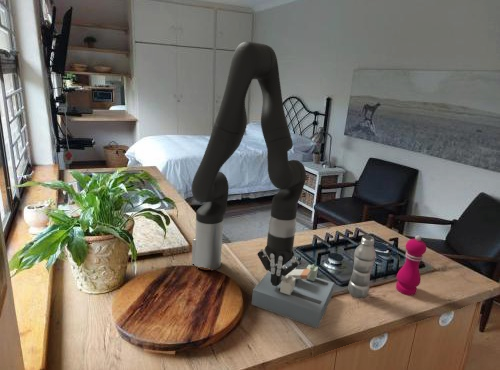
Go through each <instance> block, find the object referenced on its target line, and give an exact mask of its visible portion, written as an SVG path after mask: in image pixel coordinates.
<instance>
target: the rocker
mask: <svg viewBox="0 0 500 370" xmlns="http://www.w3.org/2000/svg"><path fill="white" fill-rule="evenodd" d="M287 275H288V276H289V275H292V277H294V278H296V279H308V278H309V276H310V275H311V269H306V268H303V269H301V268H297V269H296V268H295V269H294V270H292V271H291V272H290V273H289V274H287ZM284 277H285V276H283V275H282V279H283V278H284Z"/></svg>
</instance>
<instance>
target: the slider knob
mask: <svg viewBox="0 0 500 370" xmlns="http://www.w3.org/2000/svg"><path fill="white" fill-rule="evenodd" d="M295 280H296V278H294V277H292V275H289V276H288V275H286V276H285V277H284V278H283V280H282V281H281V288H280V292H282V293H285V294H288V295H290V294H291V293H292V291H293V290H294V287H295Z"/></svg>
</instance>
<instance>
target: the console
mask: <svg viewBox="0 0 500 370" xmlns="http://www.w3.org/2000/svg"><path fill="white" fill-rule="evenodd" d="M282 280H283V279H281V281H282ZM334 285H335V282H334V281H333V282H332V281H330V280H326V279H324V278H320V277H318V276H317V277H316V279H315V281H312V280H309V279H296V280H295V287H294V290H293V291H292V293H291V294H290V295H288V294H285V293H282V292H280V288H281V283H280V284H279V285H278V286H277V287H276V286H273V285H272V283H271V272H270V271H269V270H268V271H267V273H266V274H265V275H264V276H263V277H262V278H261V280H260V281H259V282H258V283H257V284H256V285H255V286H254V288H253V289H252V295H251V296H252V298H251V305H252V306H256V307H257V308H260V309H264V310H266V311H268V312H271V313H274V314H277V315H280V316H283V317H285V318H288V319H289V320H290V319H291V320H293V321H295V322H296V321H297V322H299V323H302V324H305V325H308V326H310V327H313V328H316V329H319V326H320V324H321V322H322V319H323V318H324V315H325V312H326V311H327V308H328V306H329V304H330V302H331V300H332V297H333V293H334Z"/></svg>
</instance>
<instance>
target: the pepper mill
mask: <svg viewBox="0 0 500 370" xmlns="http://www.w3.org/2000/svg"><path fill="white" fill-rule="evenodd" d="M405 250H406V251H405V257H406V258H405V262H404V264H403V265H402V267H400V269H399V270H398V272H397V274H396V280H397V282H396V285H395V289H396V290H397V291H398V292H399V293H401V294H403V295H407V296H414V295H416V293H417V291H418V287H419V285H420V284H421V273H420V269H419V267H420V266H419V265H420V262H421V261H422V260H423V256H424V254H426V252H427V245H426V243H425V242H424V241H423V240H422V236H421V235H418V234H417V235H415V237H414V238H410V239H409V240H408V241H406V243H405Z"/></svg>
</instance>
